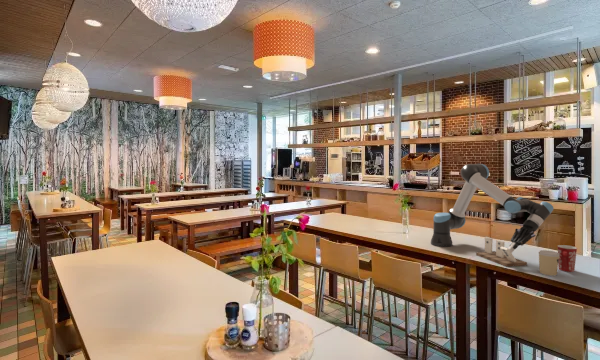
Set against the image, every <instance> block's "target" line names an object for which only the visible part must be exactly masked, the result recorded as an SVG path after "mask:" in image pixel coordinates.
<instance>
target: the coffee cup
mask: <svg viewBox="0 0 600 360" xmlns="http://www.w3.org/2000/svg"><path fill="white" fill-rule="evenodd" d="M558 261H559V253H558V251H553V250H546V249H545V250H544V249H543V250H539V251H538V263H539V264H538V265H539V273H540V274H541V275H544V276H551V277H555V276H557V274H558V270H559V268H558Z"/></svg>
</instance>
